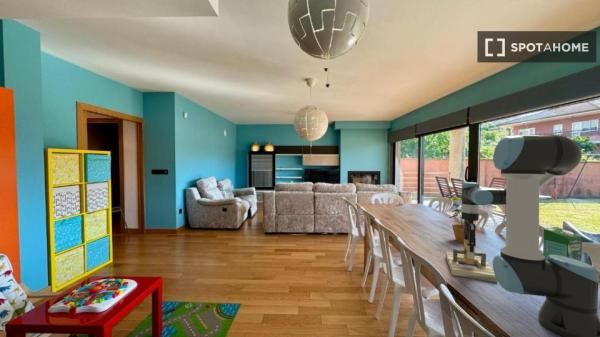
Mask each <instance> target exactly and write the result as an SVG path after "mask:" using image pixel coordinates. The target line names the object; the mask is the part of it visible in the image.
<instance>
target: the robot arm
mask: <svg viewBox="0 0 600 337" xmlns="http://www.w3.org/2000/svg"><path fill="white" fill-rule="evenodd" d="M582 156H583V155H582V150H581V147H580V145H579V144H578V143H577V142H576V141H574V140H573V139H571V138H570V137H567V136H564V135H557V134H550V135H547V134H546V135H535V134H534V135H533V134H532V135H531V134H530V135H521V134H520V135H511V136H510V135H509V136H506V137H504V138H502V139H500V140H499V141H498V143H497V144H496V146H495V148H494V151H493V155H492V161H493V162H492V163H493V165H494V167H495V168H496V169H498V170H500V175H501V176H502V177H503V178H505V188H480V184H479V182H474V181H473V182H471V181H470V182H469V181H468V182H466V181H465V182H462V184H461V199H462V200H461V202H460V203H461V205H460V207H461V208H460V215H461V217H460V219H463V220H462V221H464V223H463V225H464V235H463V236H464V241H468V243H469V244H467V245H468V258H471V259H474V252H476V251H475V247H476V246H477V245H476V243H477V240H476V224H475V222H477V221H479V219H480V216H479V209H481V206H488V205H491V206H492V205H493V206H494V205H495V206H499V205H500V206H505V217H506V218H505V246H504V247H502V248H501V249H500V255H496V256H494V257H493V259H492V269H493V271H494V274H495V276H496V278H497V283H498V284H499V285H500V287H501V288H502V289H503V290H505V291H506V292H509V293H514V294H519V295H527V296H528V295H529V296H538V297H545V300H544V301H543V303H542V306H541V307H540V309H539V310H538V322H539V323H540V324H541V325H542V326H543V327H544V328H545V329H547V330H549V331H551V332H552V333H555V334H557V335H558V336H561V337H600V317H599V315H598V300H599V298H598V297H599V284H600V279H599V278H600V277H599V272H598V270H597V268H596V267H595V266H592V265H590V264H589V263H587V262H584V261H582V260H581V261H578V260H575V259H572V258H568V257H564V256H559V255H548V256H547V257H546V259H547V260H545V256H544V255H543V253H541V252H540V189H541V188H543V187H544V186H545V185H547V184H548V183H550V182H551V181H552V180H554V179H556V178H557V177H561V176H565V175H567V174H568V173H570V172H572V171H573V170H574V169H575V168H576V167H577V166H578V165H579V164H580V162H581V161H582Z"/></svg>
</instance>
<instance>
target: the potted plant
mask: <svg viewBox="0 0 600 337" xmlns="http://www.w3.org/2000/svg"><path fill="white" fill-rule="evenodd" d="M448 200H449V201H452V202H455V204H457V202H458V201H459V202H460V201H462V197H458V196H451V197H448ZM455 207H456V209H454V210H453V211H452V213H455V215H452V216H450V217H449V219H453V218H454V217H457V216H458V215H459V216H460V220H461V224H452V225H451V226H452V227H451V228H452V229H453V234H454V237H455V241H456V240H457V242H459V241H460V243H464V236H463V235H464V223H463V221H464V220H463V219H462V218H461V209H459V208H458V207H457V205H455ZM457 212H458V214H457Z"/></svg>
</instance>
